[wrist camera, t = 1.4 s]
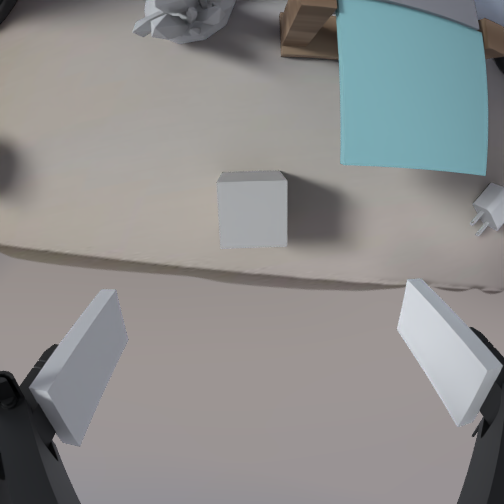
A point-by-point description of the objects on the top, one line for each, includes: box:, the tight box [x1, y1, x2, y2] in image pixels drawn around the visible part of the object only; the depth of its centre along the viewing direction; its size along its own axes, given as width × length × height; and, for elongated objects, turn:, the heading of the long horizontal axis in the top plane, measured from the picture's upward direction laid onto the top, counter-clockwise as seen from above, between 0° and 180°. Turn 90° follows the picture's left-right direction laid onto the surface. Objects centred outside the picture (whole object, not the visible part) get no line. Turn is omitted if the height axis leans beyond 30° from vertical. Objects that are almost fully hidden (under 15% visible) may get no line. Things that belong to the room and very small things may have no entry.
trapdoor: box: [333, 0, 488, 176], centre depth 20 cm, size 19×13×5 cm
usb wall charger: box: [470, 183, 504, 236], centre depth 33 cm, size 4×7×4 cm, turn 136°
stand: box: [279, 0, 504, 60], centre depth 22 cm, size 5×19×13 cm, turn 91°
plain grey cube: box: [217, 171, 287, 249], centre depth 31 cm, size 6×6×7 cm
